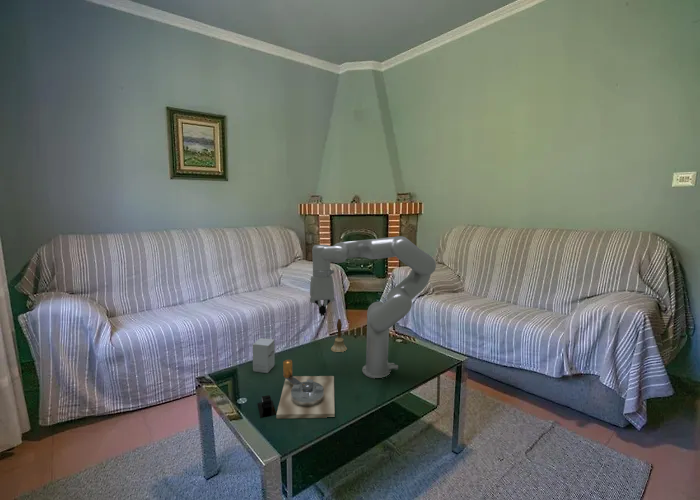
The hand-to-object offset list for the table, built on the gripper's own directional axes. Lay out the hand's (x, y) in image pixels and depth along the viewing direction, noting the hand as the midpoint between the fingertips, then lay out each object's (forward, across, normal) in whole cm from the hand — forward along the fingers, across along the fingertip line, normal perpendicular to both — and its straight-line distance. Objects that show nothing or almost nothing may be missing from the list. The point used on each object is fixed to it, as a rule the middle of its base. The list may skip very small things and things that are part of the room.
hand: (322, 314), depth 149 cm
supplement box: (+25, +26, -5) cm, 37 cm away
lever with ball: (+24, +11, +19) cm, 32 cm away
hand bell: (+26, -10, -21) cm, 35 cm away
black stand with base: (+26, +23, +25) cm, 43 cm away
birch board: (+26, +8, +20) cm, 33 cm away
